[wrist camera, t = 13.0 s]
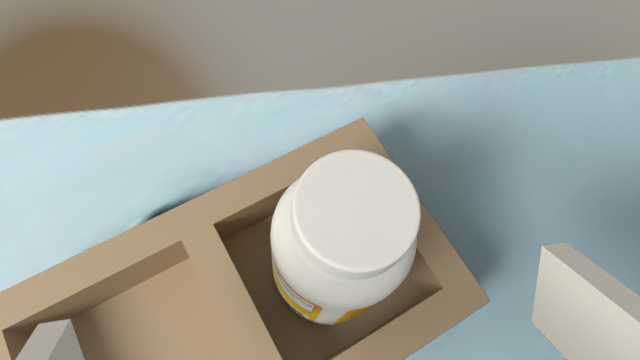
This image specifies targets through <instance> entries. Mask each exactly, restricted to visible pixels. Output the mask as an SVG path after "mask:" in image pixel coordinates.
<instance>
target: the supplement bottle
mask: <svg viewBox="0 0 640 360" xmlns="http://www.w3.org/2000/svg"><path fill="white" fill-rule="evenodd" d="M420 220H421V209H420V202H419V198H418V195H417V192H416V190H415V188H414V186H413V184H412V182H411V181H410V179H409V178H408V176H407V175H406V174H405V173H404V172H403V171H402V170H401V169H400V168H399V167H398V166H397V165H396V164H394V163H393V162H392V161H390V160H389V159H387V158H385V157H383V156H381V155H378V154H376V153H373V152H369V151H365V150H357V149H351V150H341V151H336V152H333V153H330V154H327V155H325V156H323V157H321V158H320V159H318V160H317V161H315V162H314V163H313V164H311V165H310V166H309V167H308V168H307V169H306V171H305V172H304V173H303V174H302V176H301V177H300V178H298V179H297V180H296V181H294V182H293V183H292V184H291V185H290V186H289V187H288V189H287V190H286V191H285V192H284V194H283V195H282V197H281V198H280V200H279V202H278V204H277V206H276V209H275V212H274V214H273V219H272V224H271V233H270V239H271V253H272V267H273V278H274V282H275V285H276V288H277V291H278V293H279V295H280V297H281V299H282V300H283V302H284V303H285V304H286V306H287V307H288V308H289V309H290V310H291V311H292V312H294V313H295V314H296V315H298V316H299V317H301V318H302V319H304V320H307V321H309V322H312V323H316V324H321V325H334V324H340V323H343V322H346V321H349V320H351V319H353V318H355V317H357V316H358V315H360V314H361V313H363V312H364V311H366V310H367V309H369V308H370V307H372V306H374V305H375V304H377V303H379V302H381V301H382V300H384V299H385V298H386V297H388V296H389V295H390V294H391V293H392V292H393V291H394V290H395V289H396V288H397V287H398V286H399V285H400V284H401V283H402V282H403V280H404V279H405V277H406V276H407V274H408V273H409V271H410V268H411V266H412V264H413V261H414V257H415V253H416V247H417V233H418V231H419V226H420Z"/></svg>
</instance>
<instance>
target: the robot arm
mask: <svg viewBox="0 0 640 360" xmlns="http://www.w3.org/2000/svg"><path fill="white" fill-rule="evenodd" d="M531 321H532V322H533V323H534V325H535V326H536V327H537V328H538V329H539V330H540V331H541V332H542V333H543V334H544V335H545V336H546V337H547V339H548V340H549V341H550V342H551V343H552V344H553V345H554V346H555V347H556V348H557V349H558V350H559V352H560V353H561V354H562V355H563V356H564V357H565V358H566V359H567V360H640V295H639V294H637V293H636V292H634V291H633V290H632V289H630V288H629V287H627V286H626V285H625V284H623V283H622V282H621V281H619V280H618V279H616V278H615V277H614V276H612V275H611V274H609V273H608V272H607V271H605V270H604V269H602V268H601V267H600V266H598V265H597V264H596V263H594V262H593V261H591V260H590V259H589V258H587V257H586V256H584V255H583V254H582V253H580V252H579V251H577V250H576V249H575V248H573V247H572V246H571V245H569V244H568V243H566V242H563V243H556V244H550V245H543V246H542V249H541V256H540V263H539V270H538V277H537V285H536V292H535V299H534V306H533V313H532V320H531ZM15 360H85V359H84V356H83V354H82V351H81V348H80V345H79V342H78V339H77V336H76V334H75V331H74V328H73V325H72V322H71V319H66V320H60V321H54V322H47V323H41V324H38V325H37V327H36V328H35V330H34V332H33V333H32V335H31V336H30V338H29V339H28V341H27V342H26V344H25V345H24V347H23V349H22V350H21V352H20V353H19V355H18V356H17V358H16V359H15Z"/></svg>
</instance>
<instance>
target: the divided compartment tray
mask: <svg viewBox="0 0 640 360" xmlns="http://www.w3.org/2000/svg"><path fill="white" fill-rule="evenodd" d="M351 149H357V150H365V151H369V152H373V153H376V154H378V155H381V156H383V157H385V158H387V159H389V160H390V161H392V162H393V163H394V164H395V162H394V161H393V159H392V158H391V157H390V155H389V154H388V152H387V151H386V149H385V148H384V146H383V145H382V144H381V142H380V141H379V139H378V138H377V136H376V135H375V134H374V132H373V131H372V129H371V128H370V126H369V125H368V123H367V122H366V121H365V119H364V118H360V119H358V120H356V121H354V122H352V123H350V124H348V125H346V126H344V127H342V128H340V129H338V130H336V131H334V132H331V133H329V134H327V135H325V136H323V137H321V138H319V139H317V140H315V141H313V142H311V143H309V144H307V145H304V146H302V147H300V148H298V149H296V150H294V151H292V152H290V153H288V154H286V155H284V156H282V157H280V158H277V159H275V160H273V161H271V162H269V163H267V164H265V165H263V166H261V167H259V168H257V169H255V170H253V171H250V172H248V173H246V174H244V175H242V176H240V177H238V178H236V179H234V180H232V181H230V182H228V183H226V184H223V185H221V186H219V187H217V188H215V189H213V190H211V191H209V192H207V193H205V194H203V195H201V196H199V197H196V198H194V199H192V200H190V201H188V202H186V203H184V204H182V205H180V206H178V207H176V208H174V209H172V210H169V211H167V212H165V213H163V214H161V215H159V216H157V217H155V218H153V219H151V220H149V221H147V222H145V223H143V224H140V225H138V226H136V227H134V228H132V229H130V230H128V231H126V232H124V233H122V234H120V235H118V236H116V237H113V238H111V239H109V240H107V241H105V242H103V243H101V244H99V245H97V246H95V247H93V248H91V249H89V250H86V251H84V252H82V253H80V254H78V255H76V256H74V257H72V258H70V259H68V260H66V261H64V262H62V263H59V264H57V265H55V266H53V267H51V268H49V269H47V270H45V271H43V272H41V273H39V274H37V275H35V276H32V277H30V278H28V279H26V280H24V281H22V282H20V283H18V284H16V285H14V286H12V287H10V288H8V289H5V290H3V291H1V292H0V360H15V359H16V358H17V356H18V355H19V353H20V352H21V350H22V349H23V347H24V345H25V344H26V342H27V341H28V339H29V338H30V336H31V335H32V333H33V332H34V330H35V328H36V327H37V325H38V324H41V323H47V322H54V321H60V320H66V319H71V322H72V325H73V328H74V331H75V334H76V336H77V339H78V342H79V345H80V348H81V351H82V354H83V356H84V359H85V360H404V359H405V358H407V357H408V356H410V355H411V354H413V353H414V352H416V351H417V350H419V349H420V348H422V347H423V346H425V345H426V344H428V343H429V342H431V341H432V340H433V339H435V338H436V337H438V336H439V335H441V334H442V333H444V332H445V331H447V330H448V329H450V328H451V327H453V326H454V325H456V324H457V323H459V322H460V321H462V320H463V319H465V318H466V317H468V316H469V315H471V314H472V313H474V312H475V311H477V310H478V309H480V308H481V307H483V306H484V305H486V304H487V303H489V302H490V299H489V298H488V297H487V295H486V294H485V292H484V291H483V289H482V288H481V286H480V285H479V284H478V282H477V281H476V279H475V278H474V276H473V275H472V273H471V272H470V271H469V269H468V268H467V266H466V265H465V263H464V262H463V260H462V259H461V258H460V256H459V255H458V253H457V252H456V250H455V249H454V247H453V246H452V245H451V243H450V242H449V240H448V239H447V237H446V236H445V234H444V233H443V232H442V230H441V229H440V227H439V226H438V224H437V223H436V222H435V220H434V219H433V217H432V216H431V214H430V213H429V211H428V210H427V209H426V207H425V206H424V204H423V203H422V201H421V200H420V198H419V197H418V198H419V202H420V209H421V220H420V226H419V231H418V233H417V247H416V253H415V257H414V261H413V264H412V266H411V268H410V271H409V273H408V274H407V276H406V277H405V279H404V280H403V282H402V283H401V284H400V285H399V286H398V287H397V288H396V289H395V290H394V291H393V292H392V293H391V294H390V295H389V296H388V297H386V298H385V299H384V300H382V301H381V302H379V303H377V304H375V305H374V306H372V307H370V308H369V309H367V310H366V311H364V312H363V313H361V314H360V315H358V316H357V317H355V318H353V319H351V320H349V321H346V322H343V323H340V324H334V325H321V324H316V323H312V322H309V321H307V320H304V319H302V318H301V317H299V316H298V315H296V314H295V313H294V312H292V311H291V310H290V309H289V308H288V307H287V306H286V304H285V303H284V302H283V300H282V299H281V297H280V295H279V293H278V291H277V288H276V285H275V282H274V278H273V267H272V253H271V239H270V233H271V224H272V219H273V214H274V212H275V209H276V206H277V204H278V202H279V200H280V198H281V197H282V195H283V194H284V192H285V191H286V190H287V189H288V187H289V186H290V185H291V184H292V183H293V182H294V181H296V180H297V179H298V178H300V177H301V176H302V174H303V173H304V172H305V171H306V169H307V168H308V167H309V166H310V165H311V164H313V163H314V162H315V161H317V160H318V159H320V158H321V157H323V156H325V155H327V154H330V153H333V152H336V151H341V150H351Z"/></svg>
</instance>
